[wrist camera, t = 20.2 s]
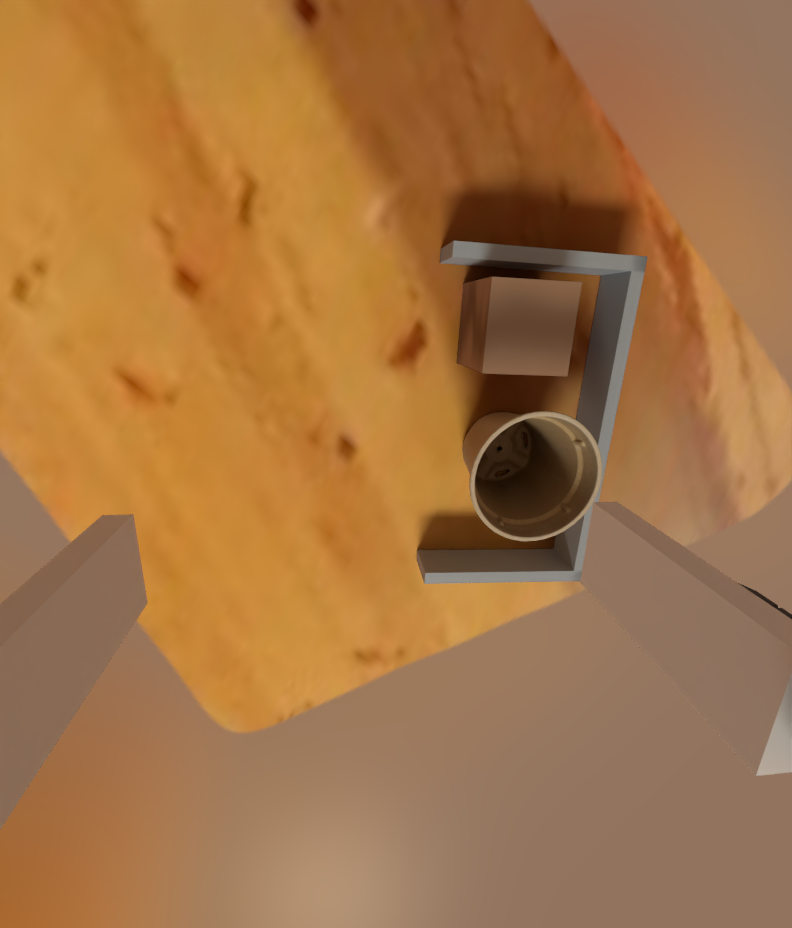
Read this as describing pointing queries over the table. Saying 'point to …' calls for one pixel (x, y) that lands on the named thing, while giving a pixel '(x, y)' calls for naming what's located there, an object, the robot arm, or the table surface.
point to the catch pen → (593, 410)
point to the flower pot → (531, 473)
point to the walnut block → (518, 326)
